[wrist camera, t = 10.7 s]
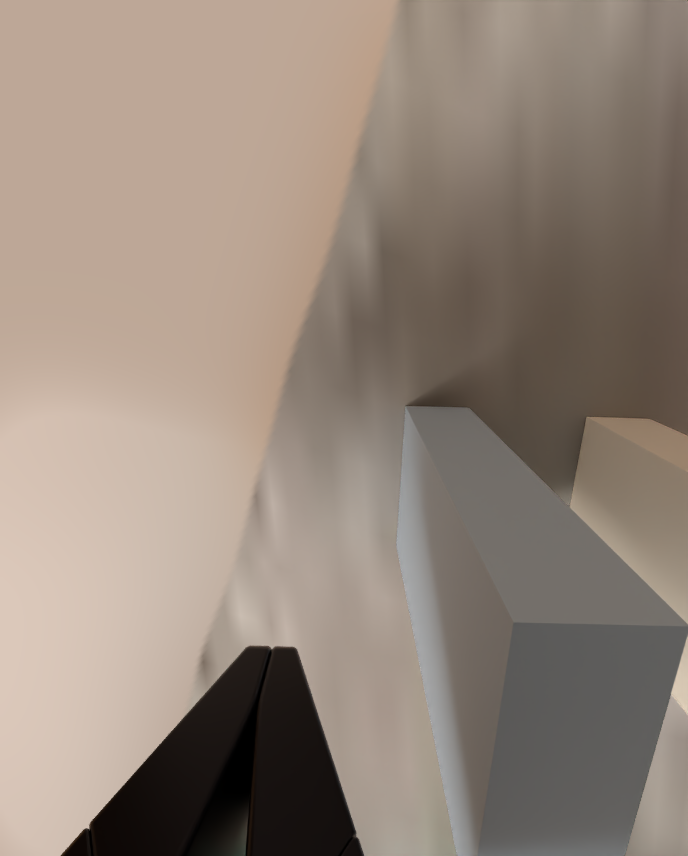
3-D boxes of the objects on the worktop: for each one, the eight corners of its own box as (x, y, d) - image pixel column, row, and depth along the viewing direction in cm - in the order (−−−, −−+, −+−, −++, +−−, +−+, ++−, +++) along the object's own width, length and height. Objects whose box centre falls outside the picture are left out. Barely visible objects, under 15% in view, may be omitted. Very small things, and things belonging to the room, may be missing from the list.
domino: (468, 407, 15) (690, 626, 5) (454, 546, 16) (607, 917, 7) (405, 405, 15) (513, 622, 5) (396, 545, 16) (468, 914, 7)
